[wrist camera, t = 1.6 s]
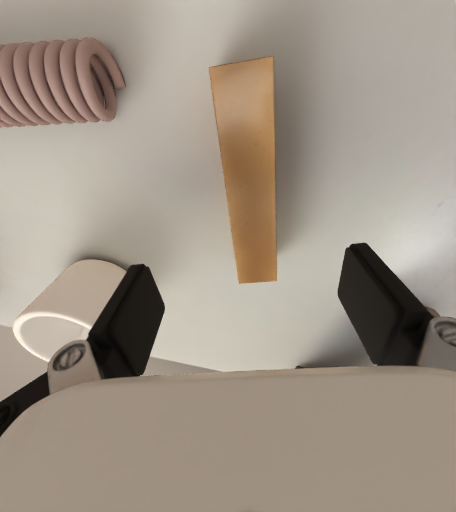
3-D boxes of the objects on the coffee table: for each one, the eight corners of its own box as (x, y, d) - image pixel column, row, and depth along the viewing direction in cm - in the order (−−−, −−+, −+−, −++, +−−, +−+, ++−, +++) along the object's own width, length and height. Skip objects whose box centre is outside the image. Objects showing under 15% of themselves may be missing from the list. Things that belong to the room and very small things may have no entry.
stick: (266, 63, 17) (273, 55, 14) (272, 258, 27) (276, 281, 24) (214, 73, 17) (208, 67, 14) (238, 261, 27) (238, 283, 24)
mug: (145, 325, 35) (120, 386, 28) (75, 311, 34) (29, 372, 26) (151, 265, 28) (120, 325, 21) (64, 246, 27) (-3, 302, 20)
